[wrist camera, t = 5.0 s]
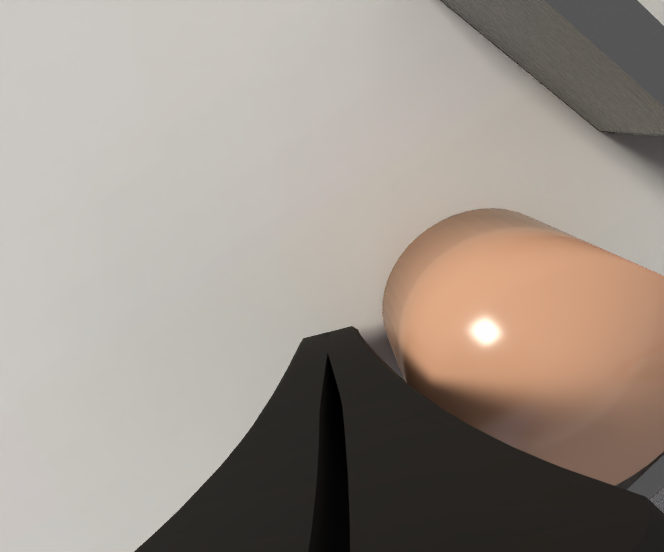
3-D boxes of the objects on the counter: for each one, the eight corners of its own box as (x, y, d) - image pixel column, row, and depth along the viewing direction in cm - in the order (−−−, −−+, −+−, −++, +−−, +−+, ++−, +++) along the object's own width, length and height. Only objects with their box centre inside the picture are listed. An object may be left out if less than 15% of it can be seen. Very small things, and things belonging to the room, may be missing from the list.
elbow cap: (571, 359, 12) (697, 472, 8) (399, 399, 12) (444, 530, 8) (568, 186, 10) (728, 228, 6) (365, 235, 10) (403, 306, 6)
